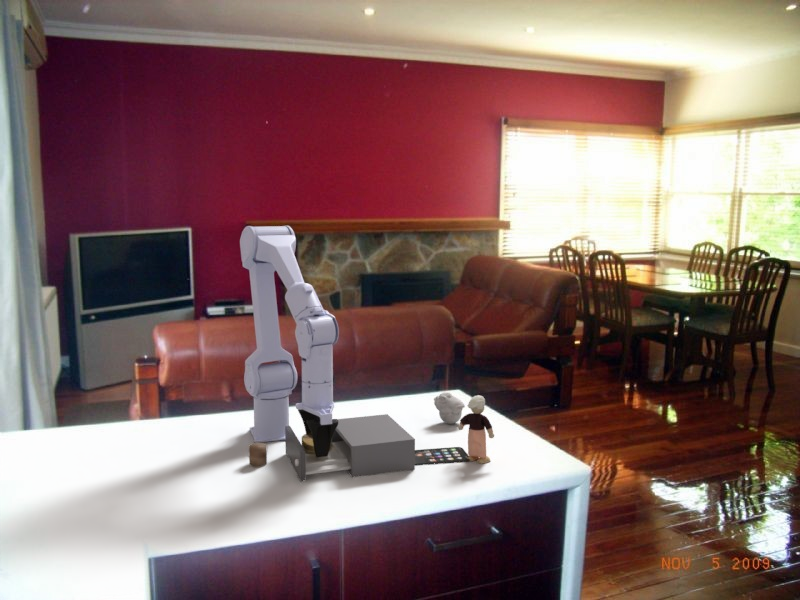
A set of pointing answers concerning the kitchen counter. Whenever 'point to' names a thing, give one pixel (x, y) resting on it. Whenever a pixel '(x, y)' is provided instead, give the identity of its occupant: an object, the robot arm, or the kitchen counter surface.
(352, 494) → the kitchen counter surface
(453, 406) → the grey rounded lumpy piece
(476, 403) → the grandmother figurine
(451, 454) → the smartphone
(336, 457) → the tray
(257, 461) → the brown domed cylinder
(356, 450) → the housing
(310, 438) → the disc
